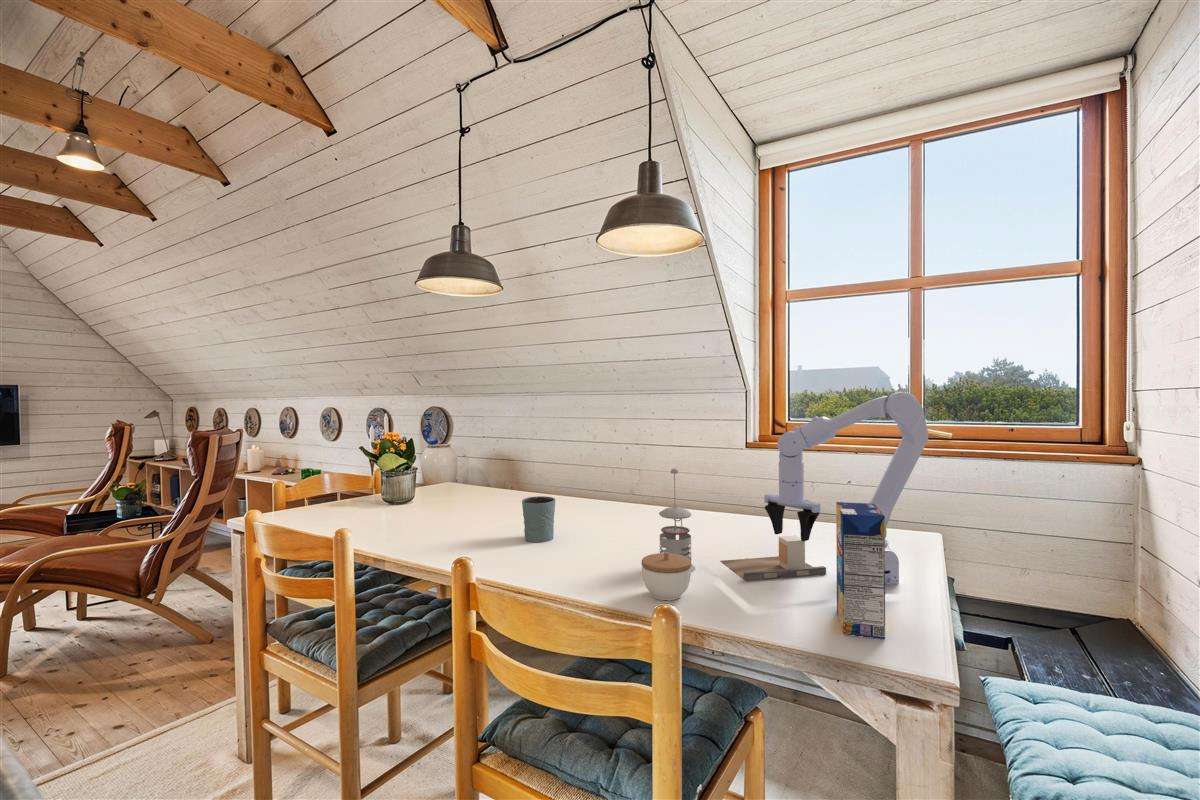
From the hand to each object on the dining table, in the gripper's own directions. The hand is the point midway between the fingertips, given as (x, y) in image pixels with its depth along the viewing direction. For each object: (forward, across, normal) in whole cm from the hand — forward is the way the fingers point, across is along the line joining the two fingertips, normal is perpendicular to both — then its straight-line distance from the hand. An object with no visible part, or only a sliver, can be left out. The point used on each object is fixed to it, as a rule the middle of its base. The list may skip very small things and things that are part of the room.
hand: (791, 536), depth 134 cm
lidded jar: (+9, +7, +34) cm, 36 cm away
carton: (+7, 0, 0) cm, 7 cm away
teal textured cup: (+9, +64, +34) cm, 73 cm away
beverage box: (+9, -26, +15) cm, 31 cm away
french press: (+9, +20, +20) cm, 29 cm away
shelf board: (+9, +3, +4) cm, 10 cm away
